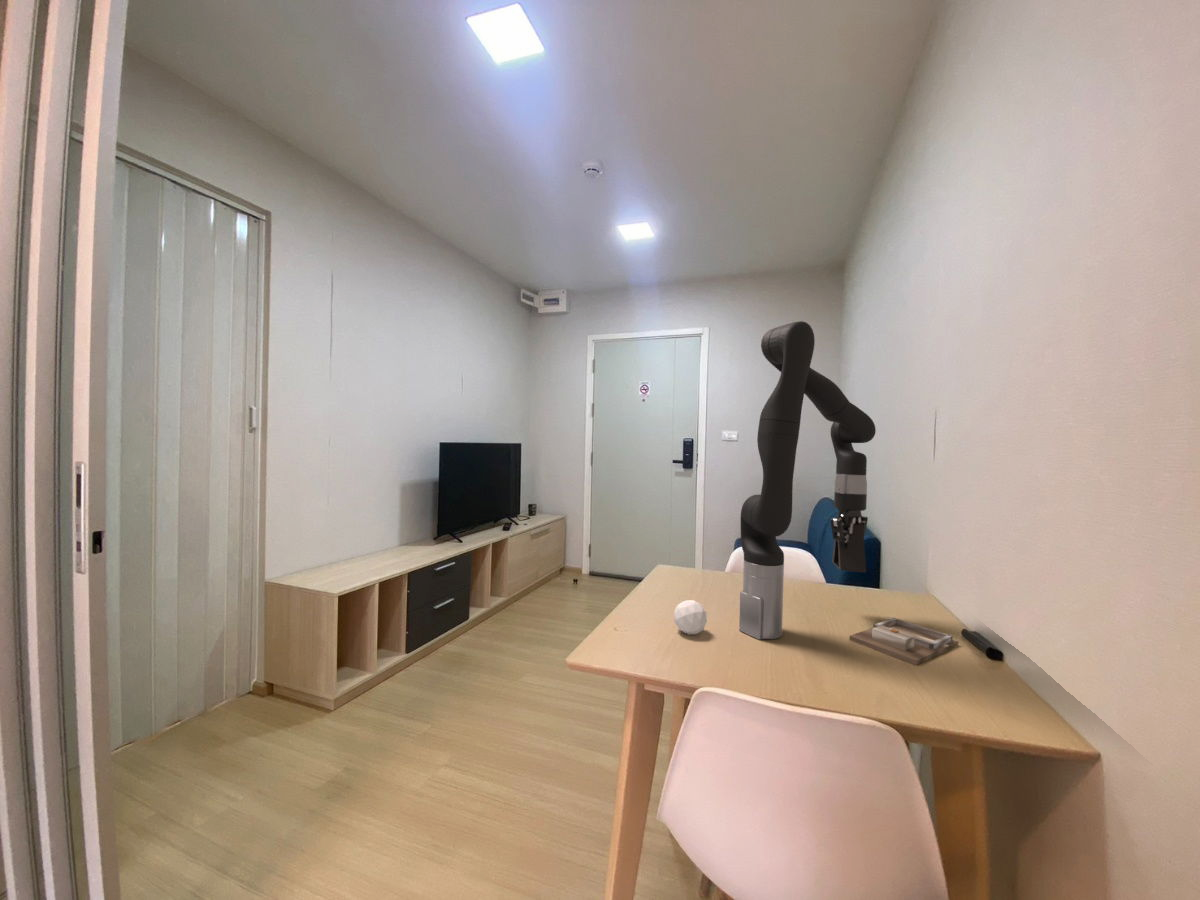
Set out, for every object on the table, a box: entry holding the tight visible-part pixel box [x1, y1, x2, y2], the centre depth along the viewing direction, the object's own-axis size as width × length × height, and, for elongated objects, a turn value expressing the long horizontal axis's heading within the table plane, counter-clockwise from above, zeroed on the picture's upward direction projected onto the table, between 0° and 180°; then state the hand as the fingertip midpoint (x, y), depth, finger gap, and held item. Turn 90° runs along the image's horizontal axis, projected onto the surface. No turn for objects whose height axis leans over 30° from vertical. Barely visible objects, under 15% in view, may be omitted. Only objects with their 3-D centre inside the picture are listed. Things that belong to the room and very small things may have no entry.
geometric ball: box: [673, 599, 708, 635], centre depth 107 cm, size 8×8×8 cm
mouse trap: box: [849, 617, 959, 666], centre depth 104 cm, size 20×14×4 cm
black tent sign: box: [831, 523, 867, 573], centre depth 118 cm, size 9×6×12 cm, turn 165°
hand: (848, 555), depth 118 cm, fingers closed on black tent sign, 4 cm apart
